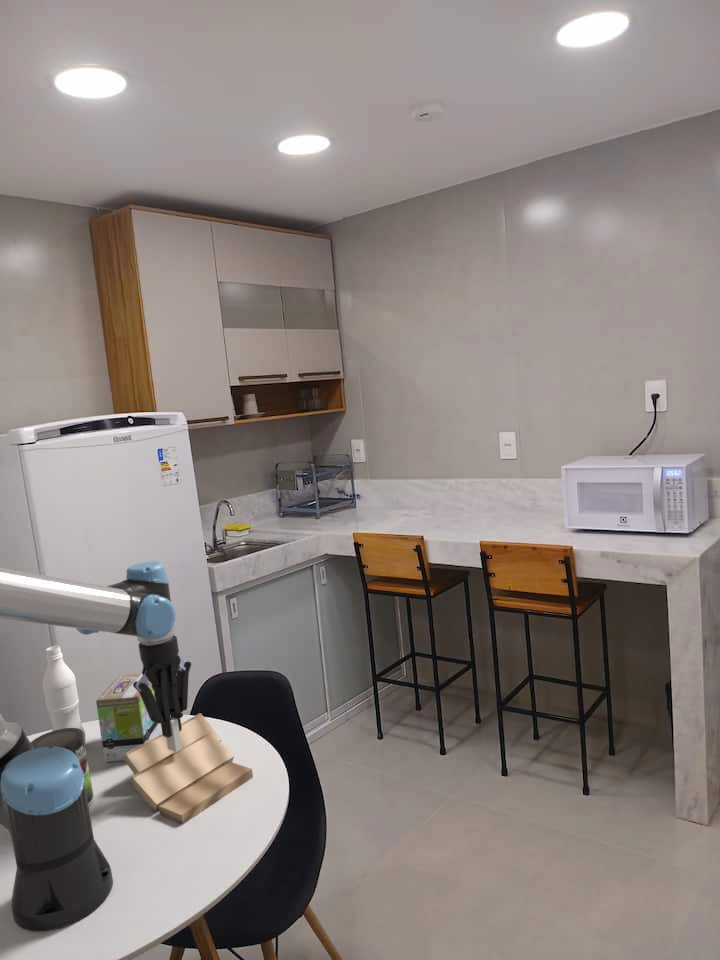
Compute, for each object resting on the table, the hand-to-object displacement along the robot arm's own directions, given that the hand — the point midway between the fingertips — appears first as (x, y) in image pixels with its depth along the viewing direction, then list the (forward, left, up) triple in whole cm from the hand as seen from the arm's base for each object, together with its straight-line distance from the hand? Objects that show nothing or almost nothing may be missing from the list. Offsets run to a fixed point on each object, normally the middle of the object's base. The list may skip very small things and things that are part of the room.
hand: (175, 748), depth 152 cm
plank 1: (+4, +7, -4) cm, 9 cm away
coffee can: (-17, +14, -7) cm, 23 cm away
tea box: (+6, +23, -7) cm, 25 cm away
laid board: (-1, -10, -7) cm, 12 cm away
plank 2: (0, -2, -5) cm, 5 cm away
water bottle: (-3, +36, -7) cm, 37 cm away
